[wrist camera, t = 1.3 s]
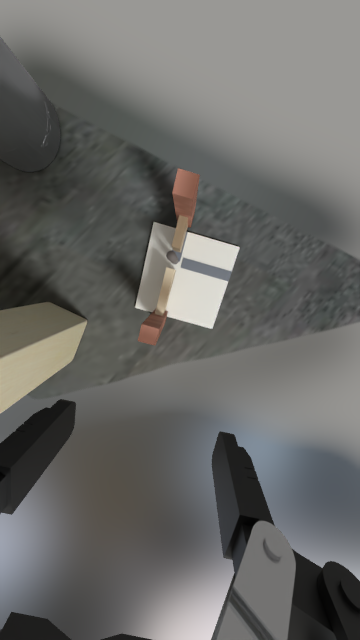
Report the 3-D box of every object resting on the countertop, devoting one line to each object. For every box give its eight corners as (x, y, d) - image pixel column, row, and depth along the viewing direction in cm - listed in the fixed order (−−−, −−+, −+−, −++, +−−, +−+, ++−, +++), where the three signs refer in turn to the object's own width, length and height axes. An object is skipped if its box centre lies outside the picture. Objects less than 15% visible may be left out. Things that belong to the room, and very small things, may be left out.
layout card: (135, 307, 28) (134, 307, 27) (154, 222, 25) (153, 221, 24) (211, 328, 28) (212, 329, 27) (238, 247, 25) (239, 247, 25)
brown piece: (168, 262, 26) (157, 255, 16) (181, 210, 24) (178, 168, 15) (180, 266, 26) (177, 261, 16) (194, 214, 24) (199, 175, 15)
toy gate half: (166, 267, 25) (155, 263, 16) (178, 271, 25) (175, 269, 17) (153, 319, 27) (137, 340, 18) (165, 322, 27) (155, 345, 18)
